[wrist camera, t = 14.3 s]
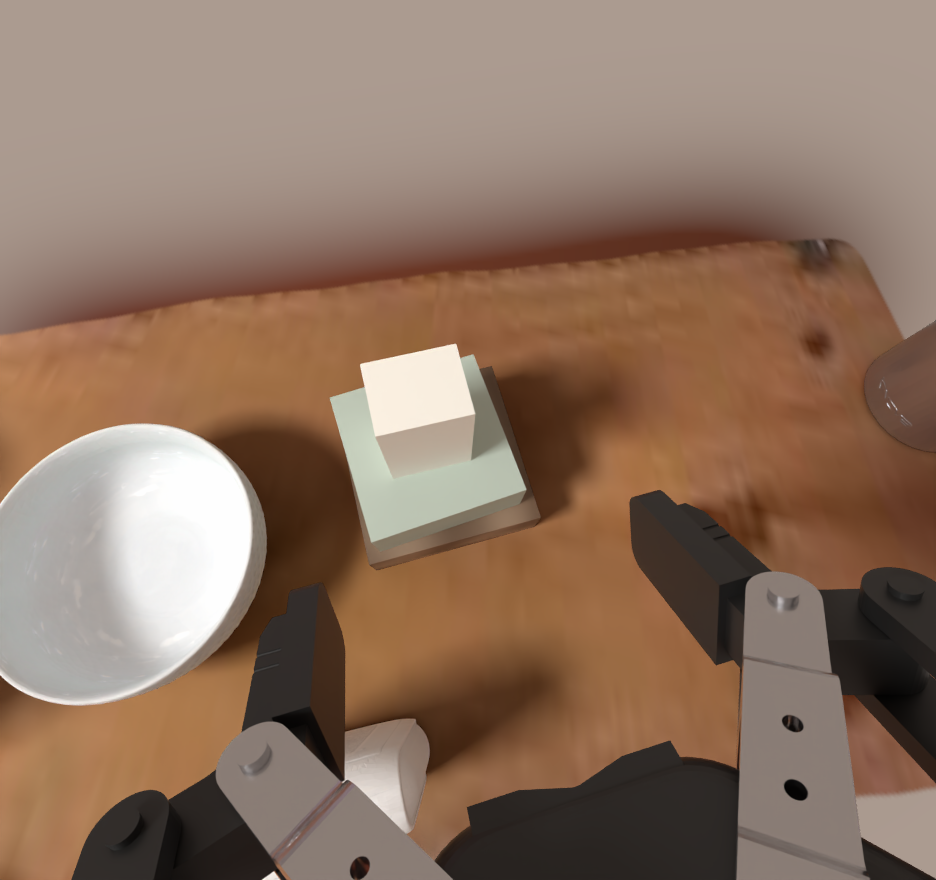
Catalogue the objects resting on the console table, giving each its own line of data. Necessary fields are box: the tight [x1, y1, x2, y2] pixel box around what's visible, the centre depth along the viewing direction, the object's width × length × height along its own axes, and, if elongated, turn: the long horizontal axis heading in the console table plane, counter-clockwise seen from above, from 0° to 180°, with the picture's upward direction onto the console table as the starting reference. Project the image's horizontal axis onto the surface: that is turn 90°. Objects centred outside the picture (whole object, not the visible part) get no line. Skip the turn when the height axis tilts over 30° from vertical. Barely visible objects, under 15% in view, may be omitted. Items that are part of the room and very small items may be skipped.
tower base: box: [346, 366, 541, 570], centre depth 40 cm, size 12×12×4 cm
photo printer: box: [262, 719, 430, 880], centre depth 29 cm, size 10×4×12 cm, turn 104°
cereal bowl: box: [0, 424, 267, 705], centre depth 36 cm, size 17×17×7 cm
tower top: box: [330, 355, 527, 552], centre depth 36 cm, size 10×10×4 cm
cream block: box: [360, 344, 475, 479], centre depth 31 cm, size 5×4×8 cm
